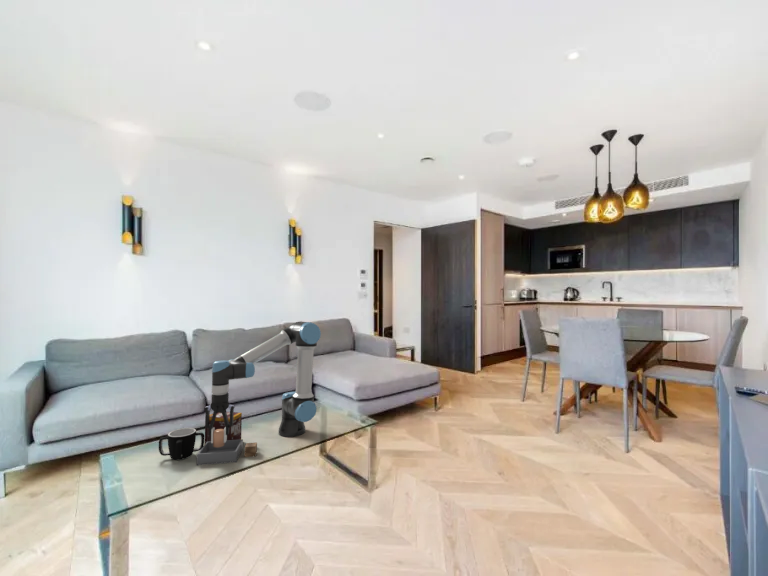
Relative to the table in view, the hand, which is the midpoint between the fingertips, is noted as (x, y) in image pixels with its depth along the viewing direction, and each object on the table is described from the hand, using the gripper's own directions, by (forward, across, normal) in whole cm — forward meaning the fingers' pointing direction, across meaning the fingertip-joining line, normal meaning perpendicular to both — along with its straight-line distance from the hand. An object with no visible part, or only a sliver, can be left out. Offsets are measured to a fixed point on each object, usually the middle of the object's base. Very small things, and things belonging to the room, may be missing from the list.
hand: (218, 441), depth 174 cm
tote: (+9, 0, -4) cm, 9 cm away
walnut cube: (+9, -14, -4) cm, 17 cm away
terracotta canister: (+2, 0, 0) cm, 2 cm away
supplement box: (+9, +3, -21) cm, 23 cm away
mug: (+9, +19, -7) cm, 22 cm away
